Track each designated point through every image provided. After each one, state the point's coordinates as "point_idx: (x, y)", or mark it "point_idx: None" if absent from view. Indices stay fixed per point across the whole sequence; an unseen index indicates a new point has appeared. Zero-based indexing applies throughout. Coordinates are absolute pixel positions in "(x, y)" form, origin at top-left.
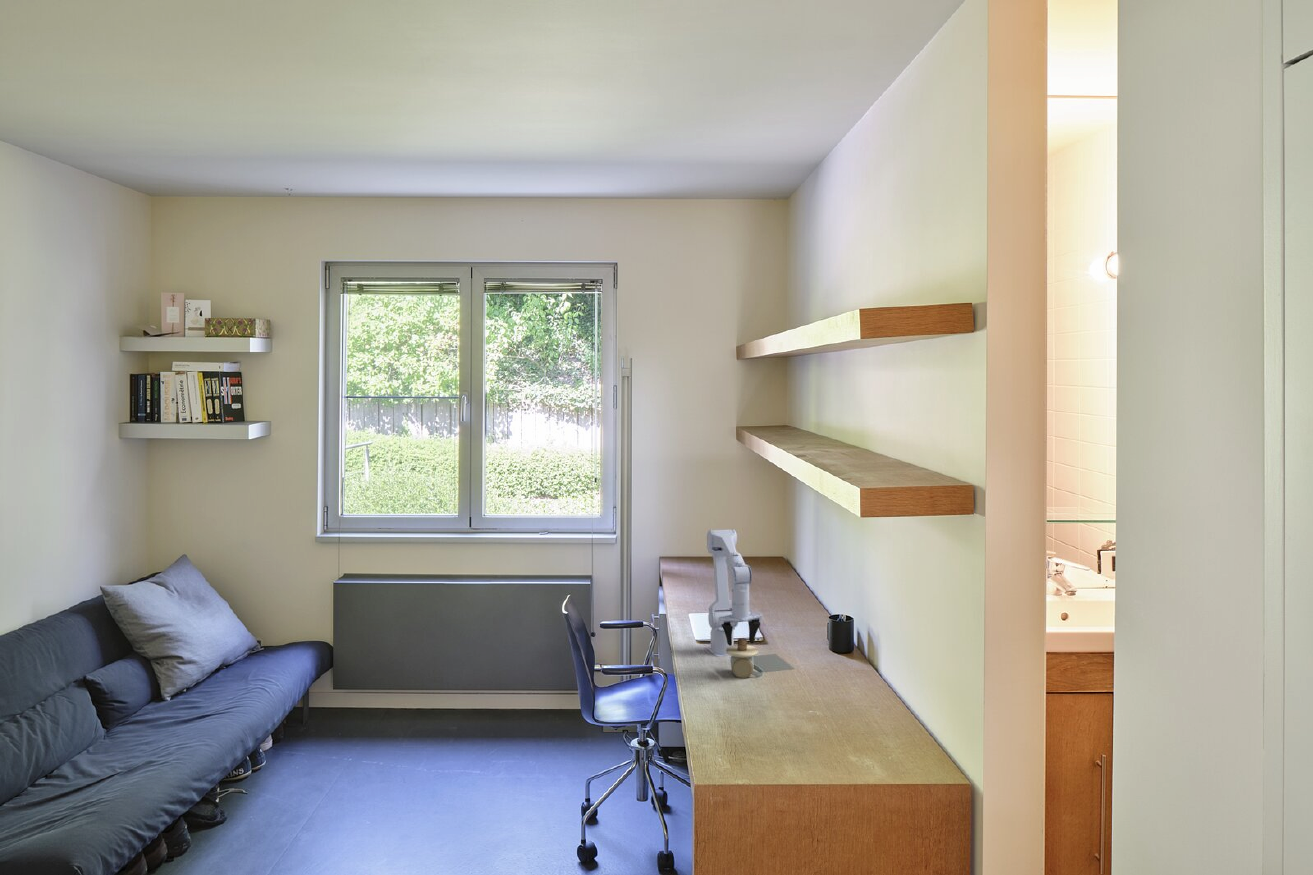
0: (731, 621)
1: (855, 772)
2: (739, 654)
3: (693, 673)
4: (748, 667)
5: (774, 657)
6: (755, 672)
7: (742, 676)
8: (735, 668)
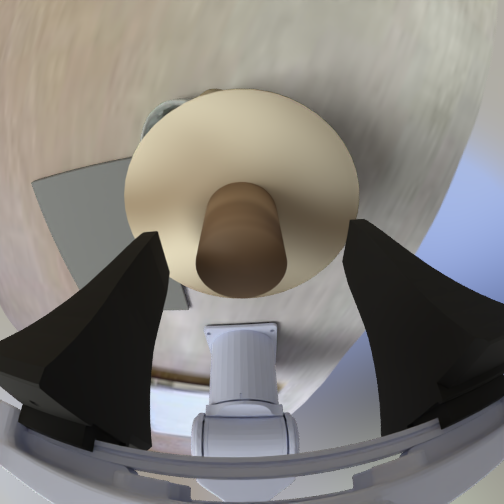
0: (420, 442)
1: None
2: (304, 112)
3: (412, 217)
4: None
5: None
6: (187, 99)
7: None
8: None
